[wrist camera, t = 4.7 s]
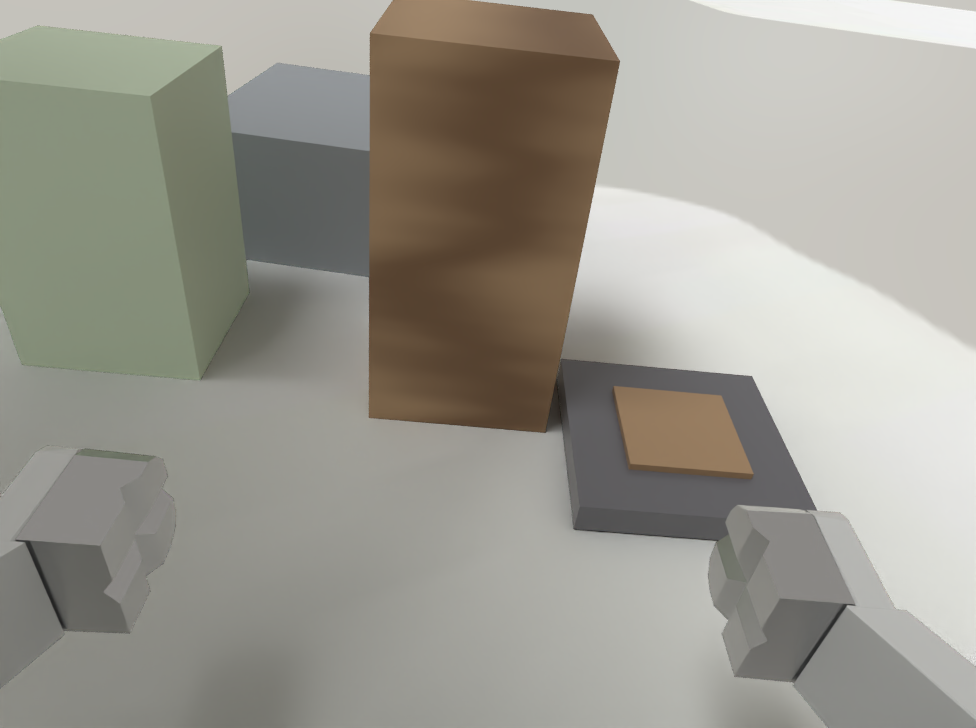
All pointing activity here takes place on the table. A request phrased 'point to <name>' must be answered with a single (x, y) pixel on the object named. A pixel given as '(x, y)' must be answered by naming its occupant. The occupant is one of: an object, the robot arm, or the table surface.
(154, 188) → the sage green block
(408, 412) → the walnut block
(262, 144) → the slate base block
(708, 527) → the card
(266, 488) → the table surface
